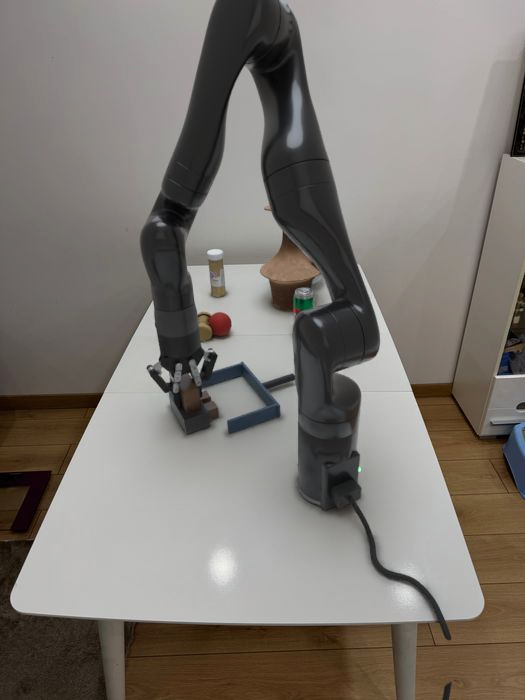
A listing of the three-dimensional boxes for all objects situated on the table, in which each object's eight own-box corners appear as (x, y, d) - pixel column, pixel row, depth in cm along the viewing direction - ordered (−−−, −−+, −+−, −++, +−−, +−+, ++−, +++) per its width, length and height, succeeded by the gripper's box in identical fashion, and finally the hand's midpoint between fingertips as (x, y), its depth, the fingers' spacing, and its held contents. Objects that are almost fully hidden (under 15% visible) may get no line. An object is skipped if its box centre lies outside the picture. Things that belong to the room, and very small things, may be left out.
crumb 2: (219, 417, 97) (217, 407, 96) (207, 421, 96) (206, 411, 95) (214, 410, 99) (213, 400, 98) (202, 414, 98) (201, 404, 97)
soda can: (312, 339, 121) (313, 296, 115) (292, 338, 122) (291, 295, 116) (314, 329, 125) (315, 287, 119) (295, 328, 126) (295, 286, 120)
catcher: (315, 404, 99) (315, 393, 98) (229, 434, 93) (228, 422, 91) (274, 362, 113) (274, 351, 111) (198, 386, 106) (196, 375, 105)
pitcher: (327, 292, 143) (331, 196, 129) (316, 319, 130) (318, 215, 115) (270, 287, 148) (267, 194, 133) (253, 313, 134) (248, 212, 119)
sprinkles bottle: (208, 295, 145) (203, 253, 138) (216, 289, 148) (212, 247, 141) (221, 298, 143) (217, 255, 136) (229, 292, 146) (225, 249, 139)
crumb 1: (211, 406, 100) (210, 396, 99) (200, 410, 99) (199, 400, 98) (207, 399, 102) (206, 390, 101) (196, 403, 101) (194, 393, 100)
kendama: (162, 350, 122) (232, 338, 121) (155, 326, 120) (227, 314, 118) (168, 339, 129) (234, 328, 128) (162, 317, 127) (229, 305, 126)
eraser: (210, 426, 95) (206, 391, 90) (186, 434, 93) (181, 399, 88) (193, 398, 102) (188, 365, 98) (170, 405, 101) (164, 372, 96)
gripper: (144, 344, 81) (159, 424, 90) (221, 324, 86) (228, 401, 95) (133, 325, 87) (148, 402, 96) (206, 307, 92) (214, 381, 101)
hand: (188, 401), depth 96 cm, fingers closed on eraser, 3 cm apart
